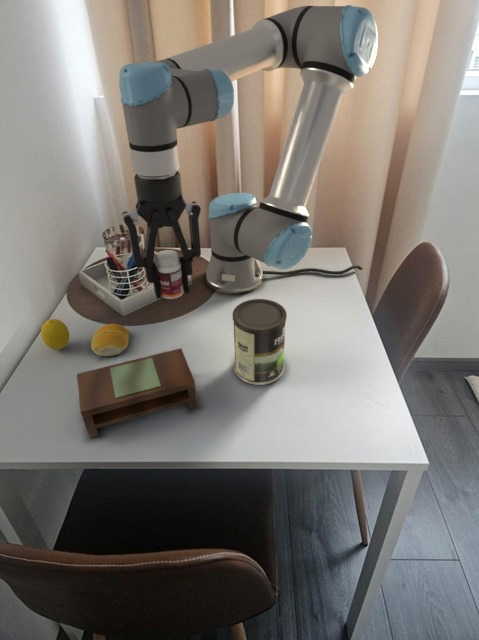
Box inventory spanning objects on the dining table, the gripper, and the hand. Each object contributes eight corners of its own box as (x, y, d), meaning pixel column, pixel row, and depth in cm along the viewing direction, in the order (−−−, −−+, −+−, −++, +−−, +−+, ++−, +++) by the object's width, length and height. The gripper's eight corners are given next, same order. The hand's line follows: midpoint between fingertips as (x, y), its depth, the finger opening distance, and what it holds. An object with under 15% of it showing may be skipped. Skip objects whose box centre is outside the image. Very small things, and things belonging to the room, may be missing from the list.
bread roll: (131, 330, 104) (128, 316, 102) (128, 355, 97) (124, 341, 94) (95, 333, 103) (91, 319, 101) (89, 359, 96) (85, 345, 94)
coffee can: (288, 356, 96) (291, 302, 87) (277, 389, 88) (280, 334, 79) (242, 348, 98) (241, 295, 90) (227, 379, 90) (225, 324, 82)
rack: (184, 373, 92) (181, 347, 88) (197, 407, 84) (194, 380, 80) (85, 399, 87) (76, 372, 82) (89, 438, 79) (80, 411, 75)
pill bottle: (154, 293, 87) (148, 255, 81) (173, 283, 89) (168, 246, 84) (170, 302, 84) (165, 263, 79) (189, 292, 87) (185, 254, 82)
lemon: (65, 358, 97) (55, 329, 92) (42, 355, 98) (31, 326, 93) (77, 342, 101) (68, 313, 96) (55, 339, 102) (45, 311, 97)
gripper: (203, 159, 78) (210, 274, 92) (98, 172, 73) (122, 291, 87) (215, 172, 72) (221, 293, 86) (103, 187, 67) (128, 312, 81)
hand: (171, 291), depth 86 cm, fingers closed on pill bottle, 5 cm apart
